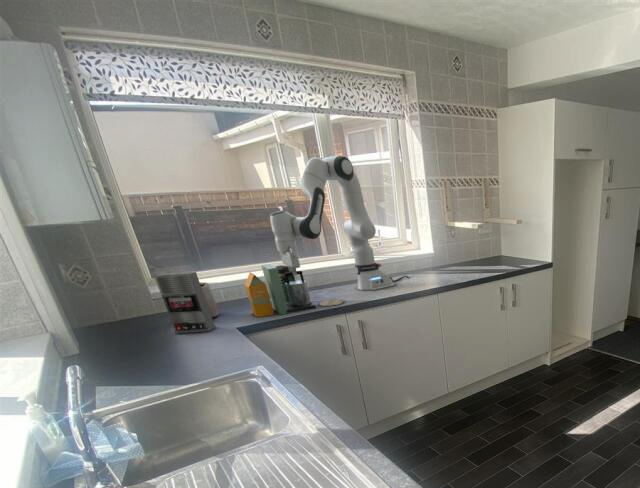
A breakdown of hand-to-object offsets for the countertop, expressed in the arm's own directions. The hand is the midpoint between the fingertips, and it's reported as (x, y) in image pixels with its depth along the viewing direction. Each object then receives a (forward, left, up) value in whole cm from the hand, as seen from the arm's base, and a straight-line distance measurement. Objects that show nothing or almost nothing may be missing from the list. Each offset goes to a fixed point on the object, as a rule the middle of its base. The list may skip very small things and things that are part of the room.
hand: (293, 275), depth 212 cm
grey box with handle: (0, +1, -15) cm, 15 cm away
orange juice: (+18, 0, -17) cm, 25 cm away
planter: (+44, -14, -17) cm, 49 cm away
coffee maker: (+3, 0, -16) cm, 17 cm away
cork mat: (-14, +4, -16) cm, 22 cm away
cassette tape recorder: (+47, +9, -17) cm, 51 cm away
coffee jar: (0, -21, -17) cm, 27 cm away
